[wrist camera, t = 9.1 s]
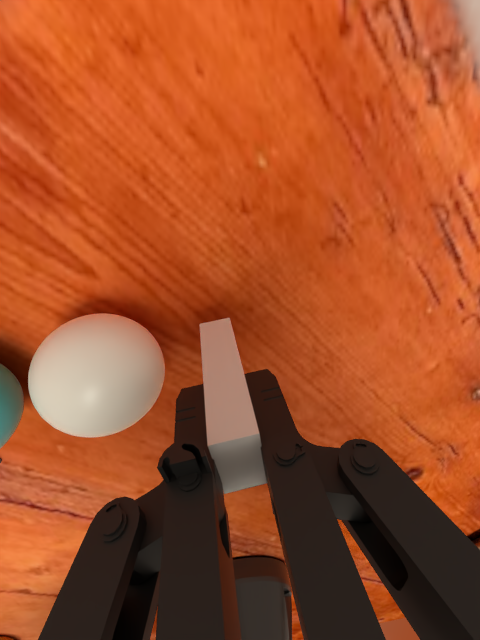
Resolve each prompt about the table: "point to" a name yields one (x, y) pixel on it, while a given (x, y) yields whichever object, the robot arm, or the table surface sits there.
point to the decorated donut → (6, 638)
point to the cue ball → (96, 375)
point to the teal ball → (9, 404)
